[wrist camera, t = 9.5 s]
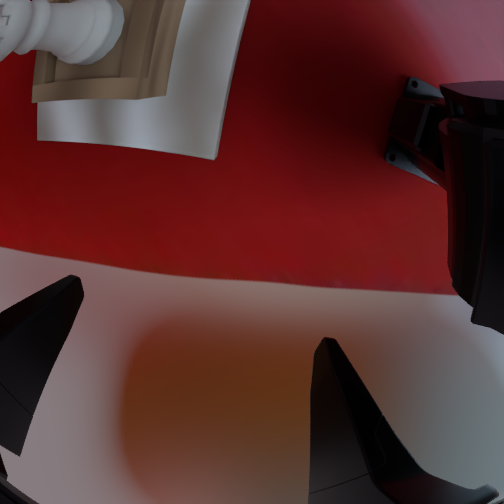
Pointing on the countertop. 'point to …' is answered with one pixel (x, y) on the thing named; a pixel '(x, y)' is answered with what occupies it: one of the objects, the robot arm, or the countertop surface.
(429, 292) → the countertop surface
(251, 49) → the countertop surface
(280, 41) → the countertop surface
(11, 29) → the rook chess piece
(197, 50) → the board
